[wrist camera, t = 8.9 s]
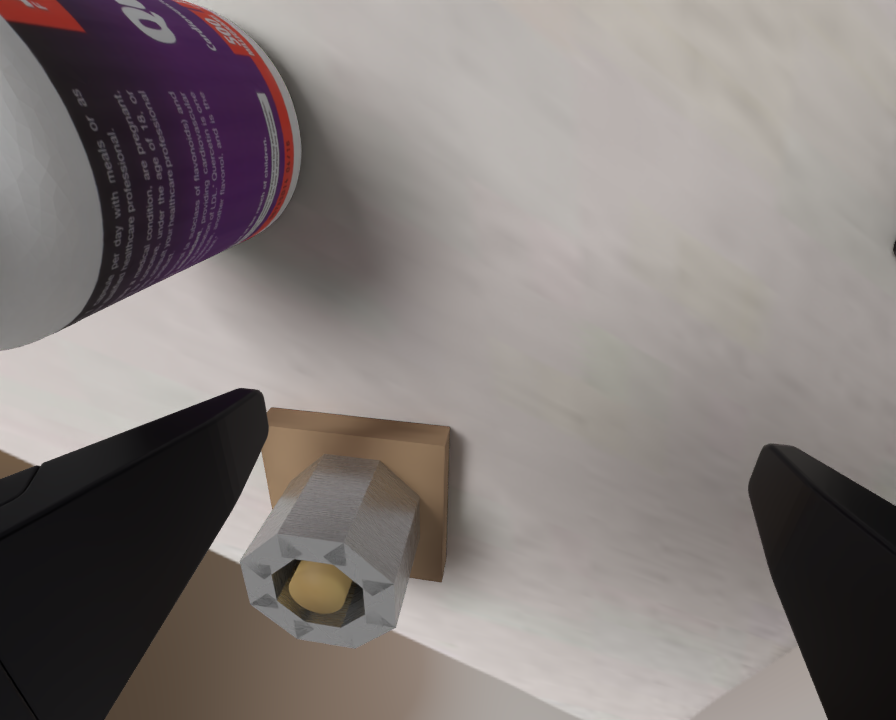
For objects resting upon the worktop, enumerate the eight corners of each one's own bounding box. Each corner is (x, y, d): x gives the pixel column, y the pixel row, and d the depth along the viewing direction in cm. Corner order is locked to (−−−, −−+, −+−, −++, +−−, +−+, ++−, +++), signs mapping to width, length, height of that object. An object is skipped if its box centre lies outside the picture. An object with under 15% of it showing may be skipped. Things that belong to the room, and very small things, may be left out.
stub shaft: (449, 426, 24) (422, 529, 18) (445, 559, 28) (423, 677, 22) (271, 407, 25) (193, 498, 19) (293, 537, 29) (233, 644, 24)
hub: (419, 464, 23) (392, 549, 19) (420, 563, 26) (397, 655, 22) (286, 449, 24) (231, 526, 20) (302, 546, 27) (257, 632, 23)
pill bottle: (304, 12, 17) (-361, -236, 4) (317, 246, 21) (-20, 474, 8) (87, -1, 18) (-994, -241, 5) (137, 226, 22) (-420, 405, 9)
